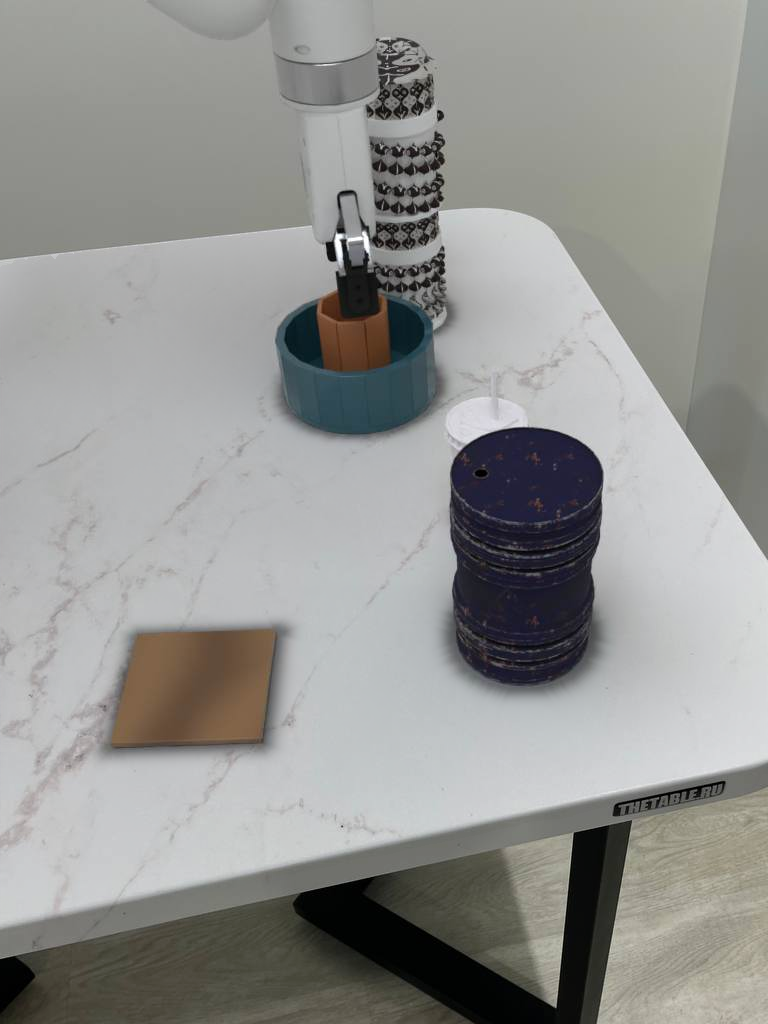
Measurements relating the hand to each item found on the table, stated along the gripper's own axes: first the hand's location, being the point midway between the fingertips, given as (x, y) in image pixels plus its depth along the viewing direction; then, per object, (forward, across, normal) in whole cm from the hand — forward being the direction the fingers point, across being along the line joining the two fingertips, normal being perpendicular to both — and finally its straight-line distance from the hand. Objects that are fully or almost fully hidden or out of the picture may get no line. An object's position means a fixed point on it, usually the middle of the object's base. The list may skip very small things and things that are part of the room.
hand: (352, 285), depth 90 cm
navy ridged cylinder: (+11, +34, +7) cm, 36 cm away
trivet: (+10, +34, -16) cm, 39 cm away
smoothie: (+11, +21, +7) cm, 24 cm away
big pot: (+10, 0, 0) cm, 10 cm away
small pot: (+10, 0, 0) cm, 10 cm away
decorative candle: (+11, -12, +6) cm, 17 cm away
